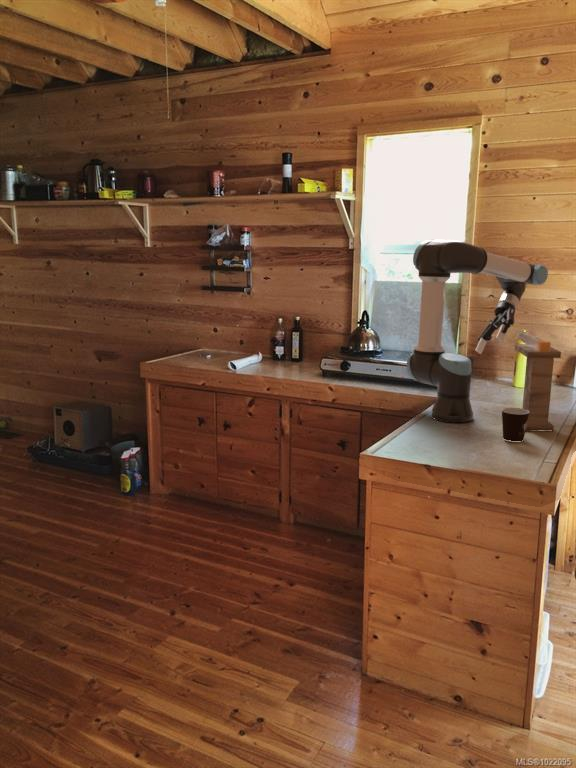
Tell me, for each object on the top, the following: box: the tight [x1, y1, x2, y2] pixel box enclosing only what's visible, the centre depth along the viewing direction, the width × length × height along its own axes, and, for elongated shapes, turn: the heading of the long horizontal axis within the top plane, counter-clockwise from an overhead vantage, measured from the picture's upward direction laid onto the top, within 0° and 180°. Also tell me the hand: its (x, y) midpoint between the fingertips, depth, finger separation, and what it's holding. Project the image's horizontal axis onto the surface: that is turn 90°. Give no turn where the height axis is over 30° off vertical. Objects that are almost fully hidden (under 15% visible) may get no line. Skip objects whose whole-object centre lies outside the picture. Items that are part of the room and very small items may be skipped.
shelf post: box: [514, 343, 562, 432], centre depth 233 cm, size 16×11×28 cm
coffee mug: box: [501, 407, 529, 441], centre depth 218 cm, size 12×9×10 cm
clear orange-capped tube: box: [518, 331, 552, 352], centre depth 234 cm, size 26×4×3 cm, turn 176°
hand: (488, 346), depth 256 cm, fingers open, 13 cm apart
